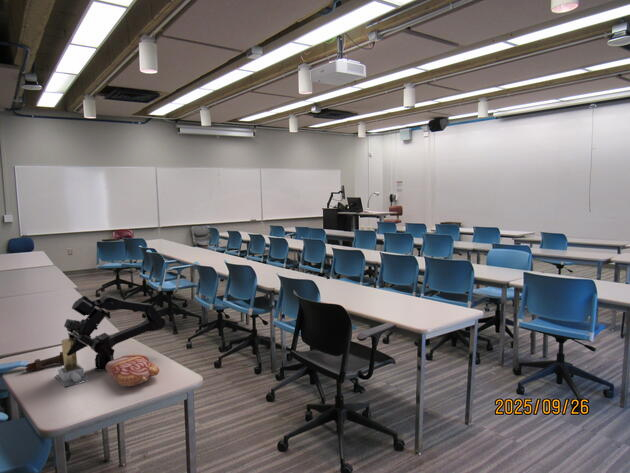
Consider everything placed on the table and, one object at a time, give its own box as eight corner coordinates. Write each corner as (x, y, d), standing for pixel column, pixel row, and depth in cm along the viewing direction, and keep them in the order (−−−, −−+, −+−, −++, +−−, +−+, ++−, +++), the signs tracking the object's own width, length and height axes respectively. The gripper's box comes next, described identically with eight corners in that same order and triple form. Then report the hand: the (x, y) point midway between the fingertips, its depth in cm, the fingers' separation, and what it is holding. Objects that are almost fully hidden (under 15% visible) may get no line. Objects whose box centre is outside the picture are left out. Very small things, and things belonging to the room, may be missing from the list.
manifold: (79, 369, 186) (78, 361, 185) (89, 380, 175) (89, 371, 175) (55, 376, 179) (55, 368, 179) (65, 387, 169) (64, 378, 169)
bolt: (26, 376, 185) (65, 364, 195) (27, 373, 181) (67, 362, 192) (23, 363, 186) (62, 352, 196) (25, 360, 183) (64, 349, 193)
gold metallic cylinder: (79, 365, 181) (77, 337, 179) (74, 370, 176) (71, 342, 174) (68, 365, 181) (65, 338, 179) (62, 370, 176) (59, 342, 174)
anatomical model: (121, 378, 160) (99, 356, 182) (122, 397, 161) (100, 372, 183) (165, 365, 171) (139, 346, 193) (166, 383, 172) (140, 361, 194)
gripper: (70, 307, 185) (43, 338, 179) (83, 316, 172) (54, 350, 165) (91, 320, 191) (66, 351, 185) (105, 330, 178) (78, 363, 172)
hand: (65, 353), depth 177 cm, fingers closed on gold metallic cylinder, 5 cm apart
